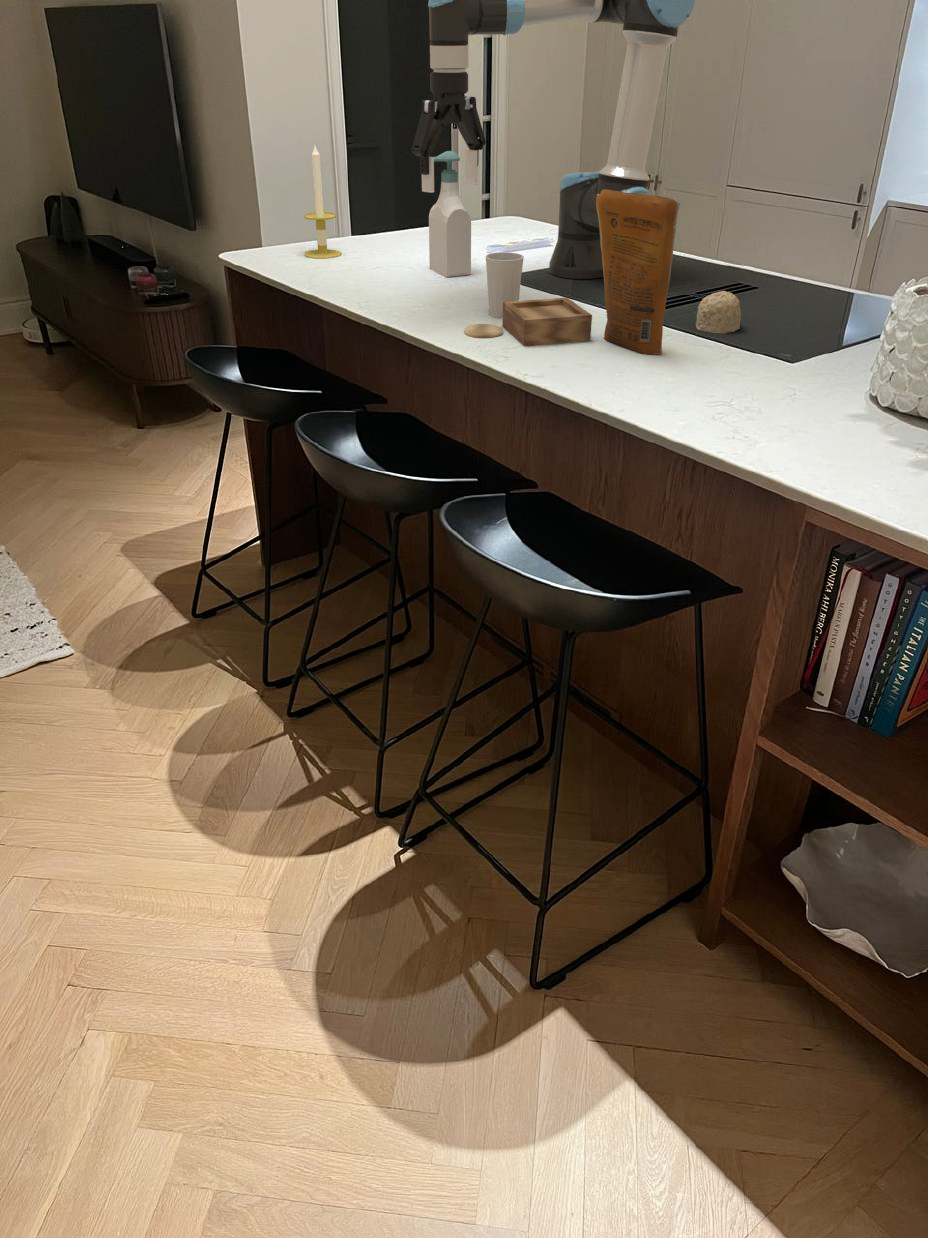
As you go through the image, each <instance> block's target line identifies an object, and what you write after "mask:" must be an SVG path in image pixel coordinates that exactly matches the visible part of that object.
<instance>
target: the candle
mask: <svg viewBox="0 0 928 1238" xmlns="http://www.w3.org/2000/svg"><path fill="white" fill-rule="evenodd" d="M321 165H322V164H321V153H320V152H319V151H318V148H317V145H316V143H315V142H314V145H313V150H312V153H311V167H312V179H313V180H312V181H313V191H314V192H313V193H314V205H315V207H314V208H315V212H311V213H305V214H304V215H303V218H304V219H306V220H312V221H315V227H316V228H315V230H316V242H317V244H316V245H317V249H312V250H308V251H306V252H304V254H303V256H304V257H306V258H310V259H317V260H318V259H319V260H320V259H321V260H322V259H323V260H324V259H333V258H334V259H335V258H338V257H340V256H342V252H341V251H340V250H335V249H331V248H330V249H328V241H327V227H326V226H327V225H326V220H332V219H335V218H336V217H337V214H336V213H332V212H325V211H324V210H325V209H324V208H325V207H324V206H325V205H324V195H323V183H322V182H323V181H322V179H323V178H322V167H321Z"/></svg>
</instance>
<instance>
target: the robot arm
mask: <svg viewBox="0 0 928 1238" xmlns="http://www.w3.org/2000/svg"><path fill="white" fill-rule="evenodd" d="M695 3H696V0H428V4H427V6H428V15H429V16H428V17H429V19H428V20H429V21H428V23H429V25H428V26H429V54H430V55H429V56H430V57H429V65H430V66H429V67H430V69H432V70H433V71H431V72H430V73H429V79H430V81H429V82H430V83H429V84H430V89H429V90H430V92H431V94H433V100H429V99H428V100H427V99H426V100H425V99H423V100H422V101H421V113H420V117H419V121H418V124H417V128H416V132H415V136H414V139H413V143H412V147H411V153H412V154H414V155H415V156H416V157H419V174H420V175H421V192H424V193H435V161H434V157H435V156H431V155H432V152H433V151H434V149H435V146H436V144H437V142H438V140H439V138H440V136H441V133H442V131H443V130H444V129H445V128H446V127H447V125H452V124H455V125H456V127H457V129H458V131H459V134H460V135H461V136H462V138H463V140H464V142H465V144H466V147H467V148H468V149H465V151H464V154H465V155H464V157H465V158H464V159H465V163H464V167H465V168H464V170H465V171H464V175H465V177H464V178H465V179H464V180H465V181H464V182H465V184H467V185H478V166H479V158H480V156H479V152H480V151H482V150H483V149H484V146H486V144H487V140H486V137H485V133H484V129H483V127H482V123H481V120H480V116H479V112H478V109H477V98H476V97H475V96H468V95H467V96H466V95H465V94H467V93H468V92H469V73H468V72H467V71H466V70H467V69H468V68H469V65H470V64H469V37H470V36H474V35H481V36H482V35H487V36H491V35H494V36H496V35H503V36H506V35H514V34H517V33H519V32H520V31H521V29H522V27H523V26H532V25H540V24H548V23H557V22H564V21H565V22H566V21H573V20H581V19H582V20H583V21H584V22H585V23H588V24H593V23H611V24H617V25H623V26H622V31H621V32H622V34H623V36H624V38H625V39H626V41H627V46H626V51H625V57H624V62H623V69H622V74H621V80H620V86H619V92H618V98H617V103H616V104H617V105H616V110H615V115H614V122H613V127H612V132H611V133H612V134H611V138H610V139H611V140H610V145H609V151H608V155H607V156H608V157H607V161H606V164H605V166H603V168H602V169H600V170H599V171H583V172H573V173H572V172H571V173H566V174H564V175H563V176H562V178H561V182H560V186H559V187H560V188H559V207H558V208H559V210H558V211H559V212H558V226H557V227H558V228H557V229H558V230H557V231H558V232H557V233H558V234H557V241H556V244H555V246H554V249H553V252H552V254H551V258H550V260H549V266H548V272H549V273H550V275H552V276H555V277H559V278H564V279H576V280H589V279H592V280H593V279H600V278H604V274H603V263H602V251H601V243H600V229H599V220H598V214H597V207H596V199H597V194H599V195H600V193H601V191H602V190H612V191H619V192H624V193H640V194H648V195H652V194H651V193H650V191H649V185H650V181H651V180H650V176H649V175H648V173H647V172H646V165H647V164H646V163H647V161H648V158H647V157H648V153H649V148H650V143H651V137H652V133H653V127H654V122H655V121H654V120H655V116H656V110H657V105H658V100H659V96H660V95H659V94H660V89H661V84H662V78H663V73H664V67H665V62H666V58H667V52H668V48H669V47H670V45H672V43H674V42H675V41H676V40H677V37H678V32H679V27H680V26H682V24H684V23H685V22H686V21H687V19H688V18H690V16H691V14H692V12H693V10H694V7H695Z"/></svg>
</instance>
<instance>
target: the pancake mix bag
mask: <svg viewBox="0 0 928 1238" xmlns="http://www.w3.org/2000/svg"><path fill="white" fill-rule="evenodd" d="M680 206H681V203H680V202H678V201H676V200H675V199H674V198H671V197H667V196H662V195H653V194H651V195H648V194H640V193H624V192H619V191H612V190H602V191H601V193H600V195H599V194H597V199H596V207H597V214H598V220H599V229H600V243H601V251H602V263H603V274H604V277H603V283H604V302H605V310H606V319H607V321H606V324H605V328H604V334H603V336H604V337H603V339H604V341H606V342H608V343H611V344H615V345H617V346H620V347H624V348H626V349H629V350H631V351H633V352H636V353H639V354H642V355H643V354H644V355H663V334H664V333H663V330H664V329H663V328H664V327H663V325H664V324H663V323H664V319H665V318H664V317H665V312H666V307H667V306H666V305H667V304H666V303H667V298H668V292H669V286H670V282H671V275H672V274H671V273H672V263H673V258H674V255H673V254H674V244H675V238H676V234H677V233H676V232H677V224H678V223H677V222H678V216H679V215H678V214H679V210H680Z"/></svg>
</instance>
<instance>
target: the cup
mask: <svg viewBox="0 0 928 1238" xmlns="http://www.w3.org/2000/svg"><path fill="white" fill-rule="evenodd" d="M524 259H525V257H524V255H523V254H521V253H517V252H508V251H507V252H505V251H504V252H491V253H489V254H486V255H485V266H486V281H487V298H488V299H487V301H488V316H489V317H491V318H495V319H503V302H510V301H520V300H519V299H520V290H521V282H522V281H521V280H522V273H523V267H524V266H523V265H524Z"/></svg>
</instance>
